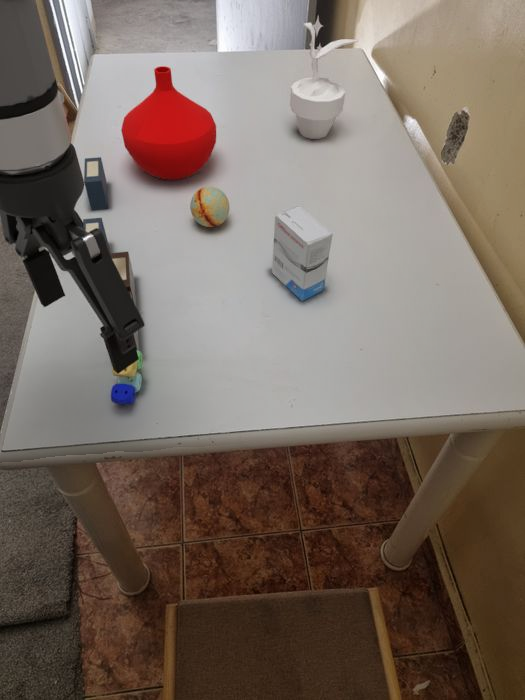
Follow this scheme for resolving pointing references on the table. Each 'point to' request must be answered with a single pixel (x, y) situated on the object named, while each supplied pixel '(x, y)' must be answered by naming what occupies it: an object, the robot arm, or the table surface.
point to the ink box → (300, 252)
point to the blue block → (95, 193)
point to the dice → (127, 383)
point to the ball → (209, 206)
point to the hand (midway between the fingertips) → (88, 330)
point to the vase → (169, 132)
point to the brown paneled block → (126, 279)
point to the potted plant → (317, 93)
